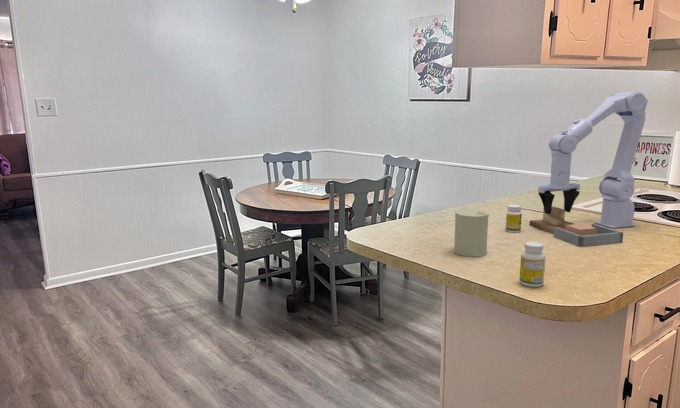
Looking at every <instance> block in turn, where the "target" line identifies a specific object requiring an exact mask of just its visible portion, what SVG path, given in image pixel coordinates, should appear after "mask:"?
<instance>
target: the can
mask: <svg viewBox="0 0 680 408" xmlns="http://www.w3.org/2000/svg"><path fill="white" fill-rule="evenodd" d="M489 215H490V214H489V212H488V211H486V210H482V209H478V208H477V209H475V208H463V209H458V210H455V212H454V218H455V219H454V221H455V222H454V244H453V245H454V246H453V253H455V254H456V255H458V256H463V257H469V258H479V257H484V256H487V254H488V249H487V248H488V225H489Z"/></svg>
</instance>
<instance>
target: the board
mask: <svg viewBox="0 0 680 408" xmlns="http://www.w3.org/2000/svg"><path fill="white" fill-rule="evenodd" d="M572 224H574V223H573V222H570V221H566V220H564V224H563V225H552V224H550V223H547V222H544V221H543V219H532V220H529V224H528V225H529V226H530V227H533V228H535V229H538V230H541V231H543V232H547V233H549V234H552V235H554V228H555V227H558V228H561V229H563V230H566V225H572Z"/></svg>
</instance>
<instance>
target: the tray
mask: <svg viewBox="0 0 680 408" xmlns="http://www.w3.org/2000/svg"><path fill="white" fill-rule="evenodd" d="M591 227H594V228H596V234H595V235H585V236H581V235H578V234H575V233H572V232H569V231H566V230H563V229H561V228H558V227H555V228H554V234H553V238H556V239H558V240H561V241H564V242H566V243H569V244H572V245H574V246H576V247H579V248H583V247H591V246H601V245H609V244H611V245H613V244H619V243H621V244H622V243H623V241H624V232H622V231H619V230H616V229H614V228H610V227H607V226H604V225H601V224H597V223H591Z"/></svg>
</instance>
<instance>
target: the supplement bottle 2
mask: <svg viewBox="0 0 680 408" xmlns="http://www.w3.org/2000/svg"><path fill="white" fill-rule="evenodd" d="M543 251H544V244H543V243H540V242H537V241H527V242H524V250H523V251H522V252H521V255H520V267H519V268H520V269H519V283H520V284H521V285H522V286H523V285H524V286H526V287H530V288H540V287H542V286H543V285H544V282H545V269H546V254H545V253H544V252H543Z"/></svg>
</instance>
